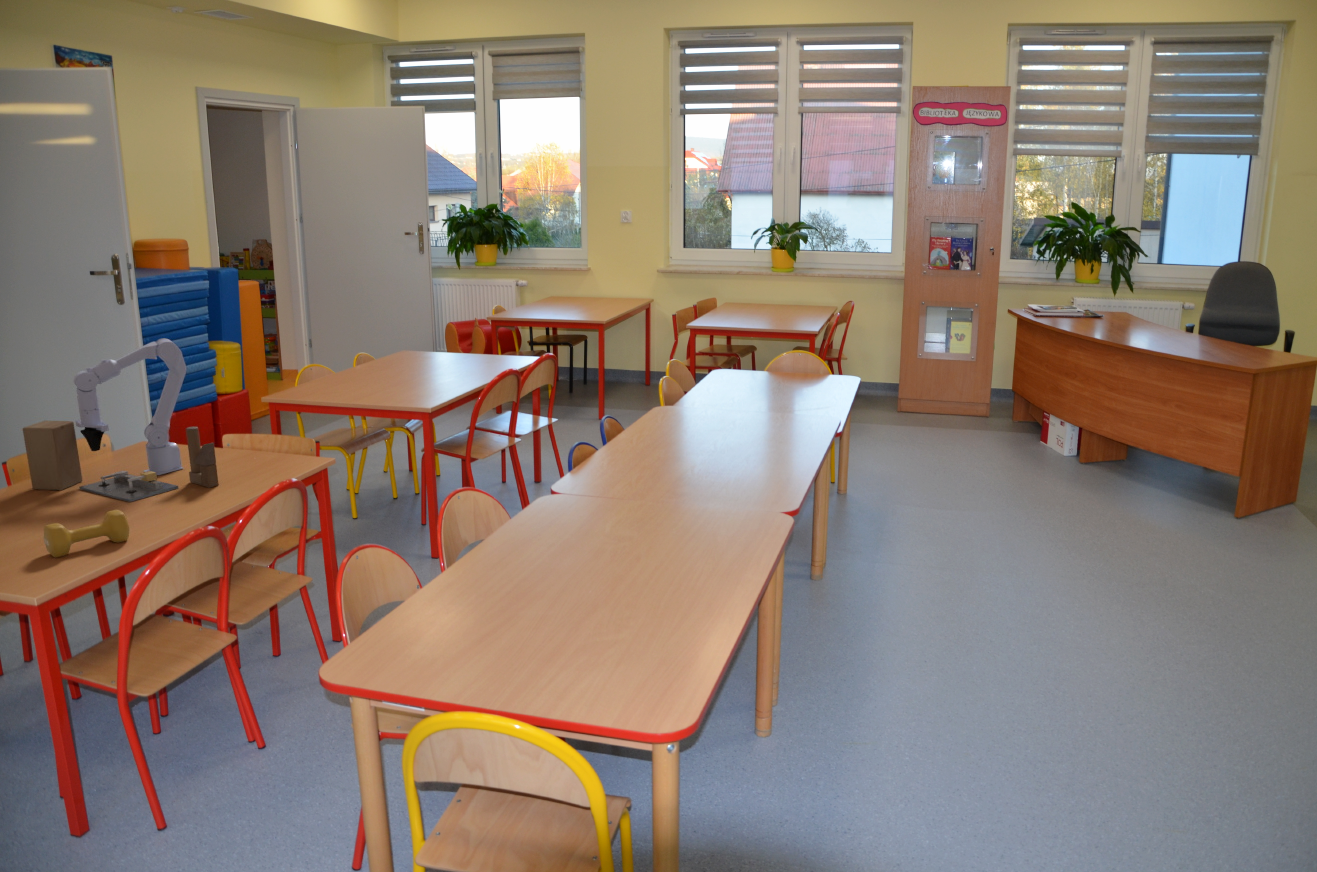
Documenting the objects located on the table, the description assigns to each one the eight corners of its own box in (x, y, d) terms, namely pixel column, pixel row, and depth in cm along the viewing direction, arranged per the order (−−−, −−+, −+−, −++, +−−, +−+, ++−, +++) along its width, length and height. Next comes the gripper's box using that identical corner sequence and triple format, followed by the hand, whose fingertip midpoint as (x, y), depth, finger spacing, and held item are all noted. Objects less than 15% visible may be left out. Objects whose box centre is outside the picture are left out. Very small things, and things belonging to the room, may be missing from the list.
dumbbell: (122, 534, 264) (118, 505, 262) (134, 542, 258) (130, 513, 256) (43, 552, 250) (38, 523, 248) (54, 561, 244) (49, 531, 242)
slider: (151, 483, 304) (150, 471, 303) (157, 484, 303) (155, 472, 302) (127, 489, 297) (125, 477, 296) (133, 491, 296) (131, 478, 295)
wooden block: (83, 481, 311) (74, 420, 306) (61, 490, 301) (51, 428, 296) (54, 480, 312) (44, 420, 307) (31, 489, 302) (21, 427, 297)
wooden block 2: (208, 488, 304) (201, 432, 299) (189, 482, 310) (182, 428, 305) (219, 485, 307) (212, 430, 302) (200, 479, 312) (193, 425, 308)
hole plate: (128, 476, 316) (126, 466, 315) (178, 488, 304) (177, 477, 303) (79, 489, 303) (77, 478, 302) (129, 502, 290) (128, 490, 289)
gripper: (63, 409, 306) (70, 450, 310) (90, 414, 299) (96, 456, 303) (85, 404, 312) (91, 445, 316) (112, 409, 305) (118, 451, 309)
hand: (95, 450), depth 310 cm, fingers closed
